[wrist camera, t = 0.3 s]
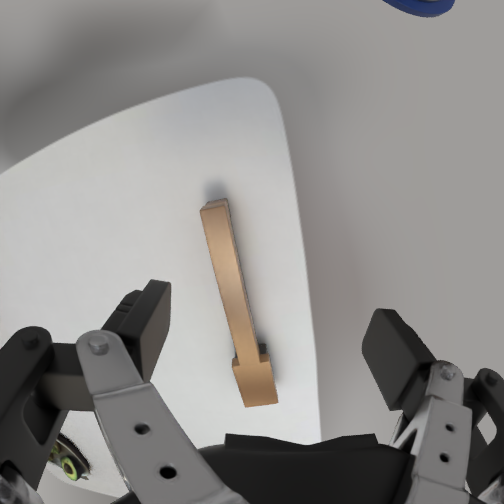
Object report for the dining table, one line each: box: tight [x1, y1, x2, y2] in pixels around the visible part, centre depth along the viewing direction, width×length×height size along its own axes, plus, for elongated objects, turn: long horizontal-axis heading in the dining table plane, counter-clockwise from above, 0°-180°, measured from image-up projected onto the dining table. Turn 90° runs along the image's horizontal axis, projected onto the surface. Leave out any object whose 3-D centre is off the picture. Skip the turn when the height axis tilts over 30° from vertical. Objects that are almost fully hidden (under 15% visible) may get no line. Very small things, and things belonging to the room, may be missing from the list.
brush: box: [200, 198, 278, 407], centre depth 25 cm, size 20×3×3 cm, turn 11°
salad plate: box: [47, 434, 90, 481], centre depth 36 cm, size 19×18×5 cm
